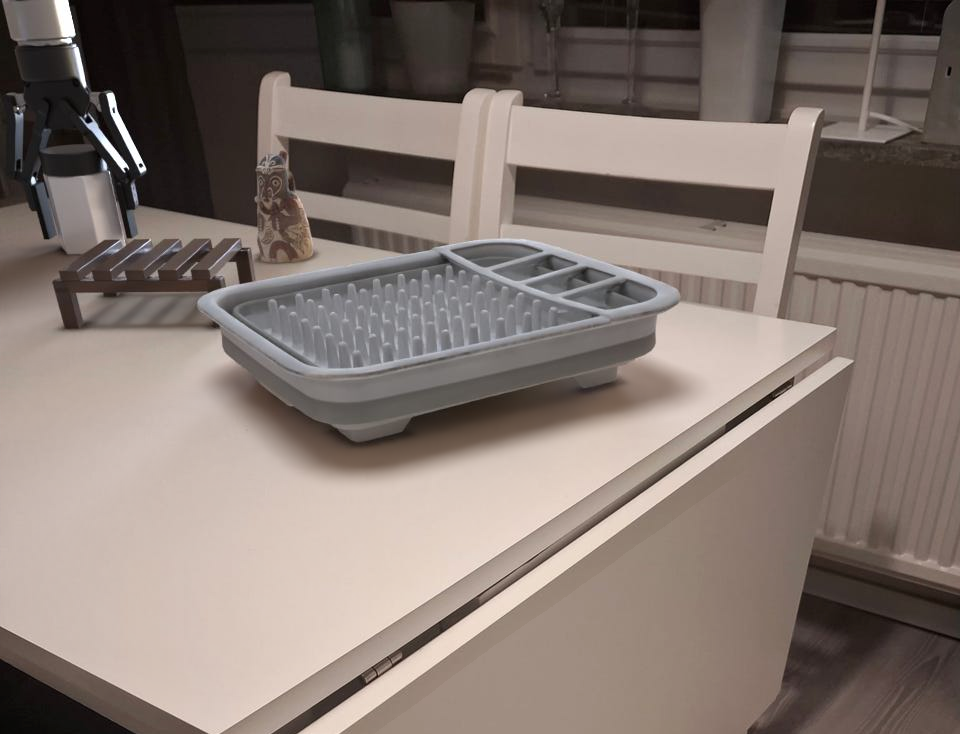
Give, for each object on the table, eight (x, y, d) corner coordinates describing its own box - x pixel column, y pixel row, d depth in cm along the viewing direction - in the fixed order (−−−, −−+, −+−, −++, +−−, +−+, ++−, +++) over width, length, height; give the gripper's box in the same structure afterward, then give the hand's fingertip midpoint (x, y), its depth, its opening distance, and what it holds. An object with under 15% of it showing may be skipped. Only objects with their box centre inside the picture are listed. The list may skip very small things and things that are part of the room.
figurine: (247, 260, 131) (231, 155, 124) (283, 248, 136) (270, 147, 128) (289, 266, 128) (276, 159, 121) (324, 254, 133) (313, 150, 125)
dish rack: (193, 368, 98) (176, 281, 93) (513, 306, 112) (513, 228, 107) (323, 483, 76) (309, 378, 71) (699, 388, 90) (709, 295, 85)
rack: (64, 330, 109) (49, 271, 105) (108, 294, 120) (95, 239, 116) (228, 329, 108) (218, 269, 104) (257, 293, 119) (249, 237, 115)
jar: (135, 241, 141) (114, 143, 134) (116, 255, 135) (93, 153, 127) (73, 241, 142) (48, 144, 134) (51, 256, 135) (24, 154, 128)
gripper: (146, 37, 126) (182, 229, 140) (-33, 41, 127) (19, 231, 141) (127, 42, 120) (166, 242, 134) (-61, 46, 121) (-3, 244, 135)
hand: (91, 236), depth 137 cm, fingers open, 11 cm apart
